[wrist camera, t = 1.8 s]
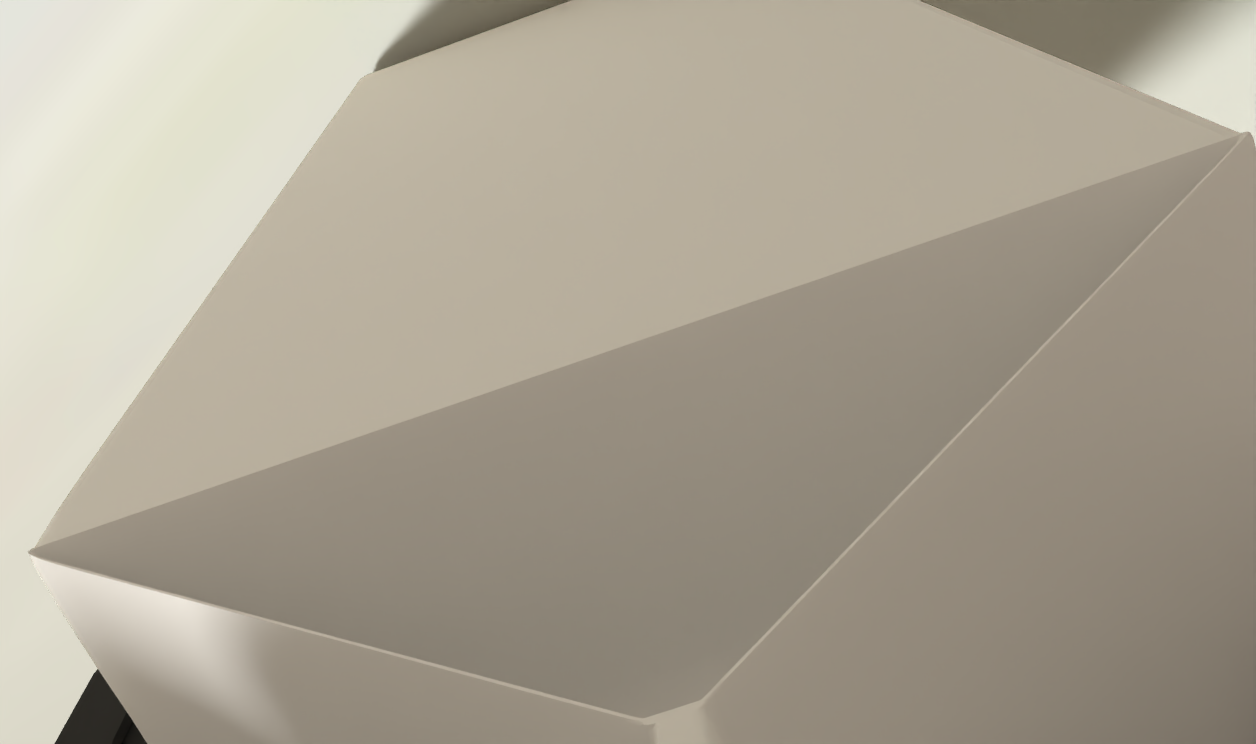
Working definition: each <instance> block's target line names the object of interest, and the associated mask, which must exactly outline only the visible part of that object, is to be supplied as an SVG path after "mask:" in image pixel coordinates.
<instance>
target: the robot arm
mask: <svg viewBox="0 0 1256 744" xmlns="http://www.w3.org/2000/svg"><path fill="white" fill-rule="evenodd" d="M55 744H147V742H146V741H145V739H144V738H143V736H142V735H141V733H140V731H139V730H138V728H137V727H136V725H135V723H134V722H133V720H132V719H131V717H130V716H129V714H128V713H127V711H126V710H125V708H124V707H123V705H122V704H121V702H120V701H119V699H118V698H117V697H116V695H115V694H114V692H113V691H112V689H111V688H110V686H109V685H108V683H107V682H106V680H105V679H104V677H103V676H102V674H101V673H100V671H99V670H98V669H97V671H96V672H95V673H94V674H93V676H92V678H91V680H90V681H89V683H88V685H87V687H86V689H85V690H84V692H83V694H82V696H81V698H80V699H79V701H78V703H77V705H76V706H75V708H74V710H73V712H72V714H71V715H70V717H69V719H68V721H67V723H66V724H65V726H64V728H63V730H62V731H61V733H60V735H59V737H58V739H57V740H56V742H55Z"/></svg>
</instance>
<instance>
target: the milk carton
mask: <svg viewBox="0 0 1256 744" xmlns="http://www.w3.org/2000/svg"><path fill="white" fill-rule="evenodd" d="M28 554H29V556H30V558H31V561H32V563H33V565H34V567H35V569H36V571H37V572H38V574H39V576H40V577H41V579H42V581H43V582H44V584H45V586H46V587H47V589H48V591H49V593H50V594H51V596H52V598H53V599H54V601H55V603H56V604H57V606H58V608H59V609H60V611H61V612H62V614H63V616H64V617H65V619H66V620H67V622H68V623H69V625H70V626H71V628H72V629H73V631H74V633H75V634H76V636H77V637H78V639H79V640H80V642H81V643H82V645H83V647H84V648H85V650H86V651H87V653H88V654H89V656H90V657H91V659H92V660H93V662H94V664H95V665H96V667H97V668H98V670H99V671H100V673H101V674H102V676H103V677H104V679H105V680H106V682H107V683H108V685H109V686H110V688H111V689H112V691H113V692H114V694H115V695H116V697H117V698H118V699H119V701H120V702H121V704H122V705H123V707H124V708H125V710H126V711H127V713H128V714H129V716H130V717H131V719H132V720H133V722H134V723H135V725H136V727H137V728H138V730H139V731H140V733H141V735H142V736H143V738H144V739H145V741H146V742H147V744H1256V147H1255V144H1254V140H1253V137H1252V135H1251V133H1250V132H1243V133H1239V132H1236V131H1234V130H1231V129H1229V128H1226V127H1224V126H1221V125H1219V124H1217V123H1214V122H1212V121H1209V120H1207V119H1205V118H1202V117H1200V116H1197V115H1195V114H1192V113H1190V112H1188V111H1185V110H1183V109H1180V108H1178V107H1176V106H1173V105H1171V104H1168V103H1166V102H1163V101H1161V100H1159V99H1156V98H1154V97H1151V96H1149V95H1147V94H1144V93H1142V92H1139V91H1137V90H1134V89H1132V88H1130V87H1127V86H1125V85H1122V84H1120V83H1118V82H1115V81H1113V80H1110V79H1108V78H1105V77H1103V76H1101V75H1098V74H1096V73H1093V72H1091V71H1089V70H1086V69H1084V68H1081V67H1079V66H1076V65H1074V64H1072V63H1069V62H1067V61H1064V60H1062V59H1060V58H1057V57H1055V56H1052V55H1050V54H1047V53H1045V52H1043V51H1040V50H1038V49H1035V48H1033V47H1031V46H1028V45H1026V44H1023V43H1021V42H1018V41H1016V40H1014V39H1011V38H1009V37H1006V36H1004V35H1002V34H999V33H997V32H994V31H992V30H989V29H987V28H985V27H982V26H980V25H977V24H975V23H973V22H970V21H968V20H965V19H963V18H960V17H958V16H956V15H953V14H951V13H948V12H946V11H944V10H941V9H939V8H936V7H934V6H931V5H929V4H927V3H924V2H922V1H919V0H571V1H568V2H565V3H562V4H560V5H557V6H554V7H552V8H549V9H546V10H543V11H541V12H538V13H535V14H532V15H530V16H527V17H524V18H521V19H519V20H516V21H513V22H510V23H508V24H505V25H502V26H499V27H497V28H494V29H491V30H488V31H486V32H483V33H480V34H477V35H475V36H472V37H469V38H466V39H464V40H461V41H458V42H455V43H453V44H450V45H447V46H445V47H442V48H439V49H436V50H434V51H431V52H428V53H425V54H423V55H420V56H417V57H414V58H412V59H409V60H406V61H403V62H401V63H398V64H395V65H392V66H390V67H387V68H384V69H381V70H379V71H376V72H373V73H370V74H368V75H366V76H364V77H363V78H361V79H360V80H359V82H358V83H357V84H356V86H355V87H354V89H353V90H352V92H351V93H350V94H349V96H348V97H347V99H346V100H345V101H344V103H343V104H342V106H341V107H340V109H339V110H338V111H337V113H336V114H335V116H334V117H333V119H332V120H331V121H330V123H329V124H328V126H327V127H326V128H325V130H324V131H323V133H322V134H321V136H320V137H319V138H318V140H317V141H316V143H315V144H314V145H313V147H312V148H311V150H310V151H309V153H308V154H307V155H306V157H305V158H304V160H303V161H302V163H301V164H300V165H299V167H298V168H297V170H296V171H295V172H294V174H293V175H292V177H291V178H290V180H289V181H288V182H287V184H286V185H285V187H284V188H283V189H282V191H281V192H280V194H279V195H278V197H277V198H276V199H275V201H274V202H273V204H272V205H271V206H270V208H269V209H268V211H267V212H266V214H265V215H264V216H263V218H262V219H261V221H260V222H259V224H258V225H257V226H256V228H255V229H254V231H253V232H252V233H251V235H250V236H249V238H248V239H247V241H246V242H245V243H244V245H243V246H242V248H241V249H240V250H239V252H238V253H237V255H236V256H235V258H234V259H233V260H232V262H231V263H230V265H229V266H228V267H227V269H226V270H225V272H224V273H223V275H222V276H221V277H220V279H219V280H218V282H217V283H216V285H215V286H214V287H213V289H212V290H211V292H210V293H209V294H208V296H207V297H206V299H205V300H204V302H203V303H202V304H201V306H200V307H199V309H198V310H197V311H196V313H195V314H194V316H193V317H192V319H191V320H190V321H189V323H188V324H187V326H186V327H185V329H184V330H183V331H182V333H181V334H180V336H179V337H178V338H177V340H176V341H175V343H174V344H173V346H172V347H171V348H170V350H169V351H168V353H167V354H166V355H165V357H164V358H163V360H162V361H161V363H160V364H159V365H158V367H157V368H156V370H155V371H154V372H153V374H152V375H151V377H150V378H149V380H148V381H147V382H146V384H145V385H144V387H143V388H142V390H141V391H140V392H139V394H138V395H137V397H136V398H135V399H134V401H133V402H132V404H131V405H130V407H129V408H128V409H127V411H126V412H125V414H124V415H123V416H122V418H121V419H120V421H119V422H118V424H117V425H116V426H115V428H114V429H113V431H112V432H111V434H110V435H109V436H108V438H107V439H106V441H105V442H104V444H103V445H102V446H101V448H100V449H99V451H98V452H97V454H96V455H95V456H94V458H93V459H92V461H91V462H90V464H89V465H88V467H87V468H86V469H85V471H84V472H83V474H82V475H81V477H80V478H79V480H78V481H77V482H76V484H75V485H74V487H73V488H72V490H71V491H70V493H69V494H68V496H67V497H66V499H65V500H64V502H63V503H62V505H61V506H60V508H59V509H58V511H57V512H56V514H55V515H54V517H53V518H52V520H51V521H50V523H49V525H48V526H47V528H46V530H45V531H44V533H43V534H42V536H41V538H40V539H39V541H38V543H37V545H36V546H35V548H32V549H31V550H30V551H28Z"/></svg>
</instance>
